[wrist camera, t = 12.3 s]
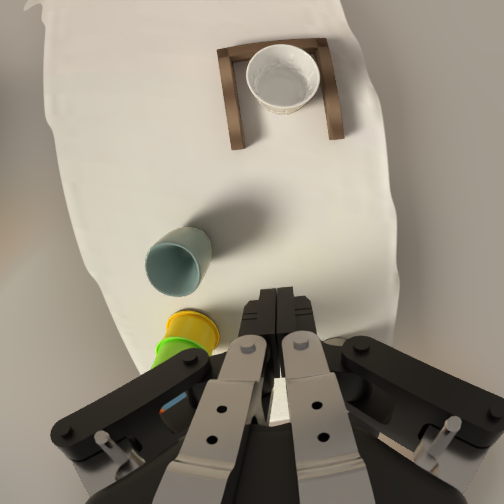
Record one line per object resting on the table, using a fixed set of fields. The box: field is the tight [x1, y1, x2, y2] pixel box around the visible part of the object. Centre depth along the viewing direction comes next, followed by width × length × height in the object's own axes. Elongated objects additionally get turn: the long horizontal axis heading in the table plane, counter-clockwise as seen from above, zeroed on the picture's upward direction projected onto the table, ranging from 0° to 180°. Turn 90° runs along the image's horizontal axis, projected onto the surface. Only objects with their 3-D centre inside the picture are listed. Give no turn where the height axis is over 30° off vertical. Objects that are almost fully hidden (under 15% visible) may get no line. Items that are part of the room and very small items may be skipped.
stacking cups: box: [151, 311, 220, 413], centre depth 33 cm, size 10×10×35 cm
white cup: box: [246, 44, 320, 115], centre depth 29 cm, size 8×8×10 cm
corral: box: [217, 38, 344, 150], centre depth 33 cm, size 15×15×3 cm
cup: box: [145, 227, 212, 297], centre depth 39 cm, size 8×8×10 cm
